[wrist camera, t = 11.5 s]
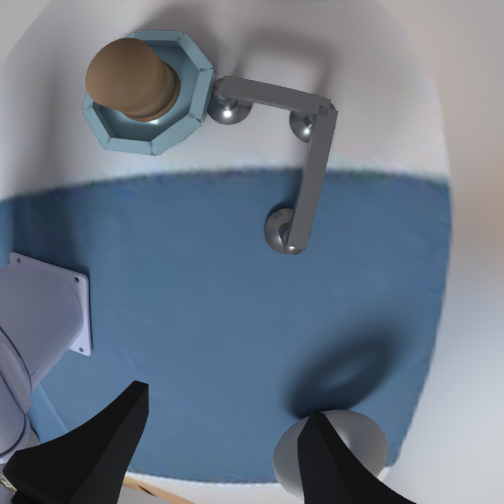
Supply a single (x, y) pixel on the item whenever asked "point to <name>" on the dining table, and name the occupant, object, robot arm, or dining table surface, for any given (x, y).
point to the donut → (351, 432)
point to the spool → (132, 80)
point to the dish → (182, 113)
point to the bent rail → (305, 128)
